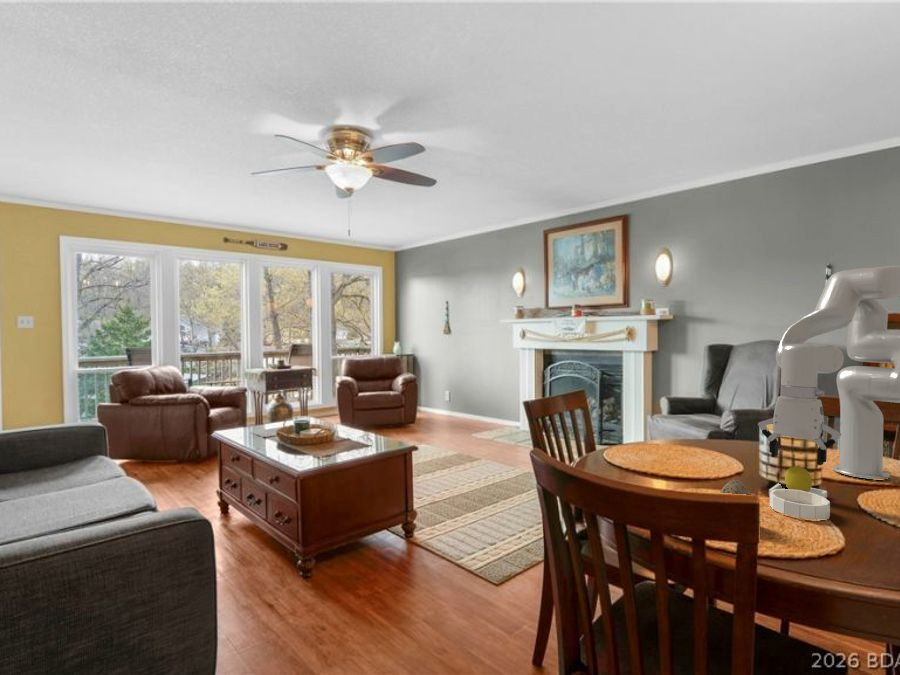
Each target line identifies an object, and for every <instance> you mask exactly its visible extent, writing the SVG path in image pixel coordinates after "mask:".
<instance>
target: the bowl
mask: <svg viewBox="0 0 900 675" xmlns="http://www.w3.org/2000/svg"><path fill="white" fill-rule="evenodd" d="M770 506H771V507H772V509H774V510H776V511H778V512H781V513H784V514H787V515H790V516H794V517H798V518H804V519H816V520H817V519H826V521H828V520H829V519H830V516H831V502H830V500H828V499H827V498H824V497H822V496H819V495H817V494H814V493H810V492H805V491H800V490H793V489H785V488H782V489H774V490H772V491H771V492H770V496H769V507H770ZM772 509H771V510H772ZM827 519H828V520H827Z"/></svg>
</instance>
